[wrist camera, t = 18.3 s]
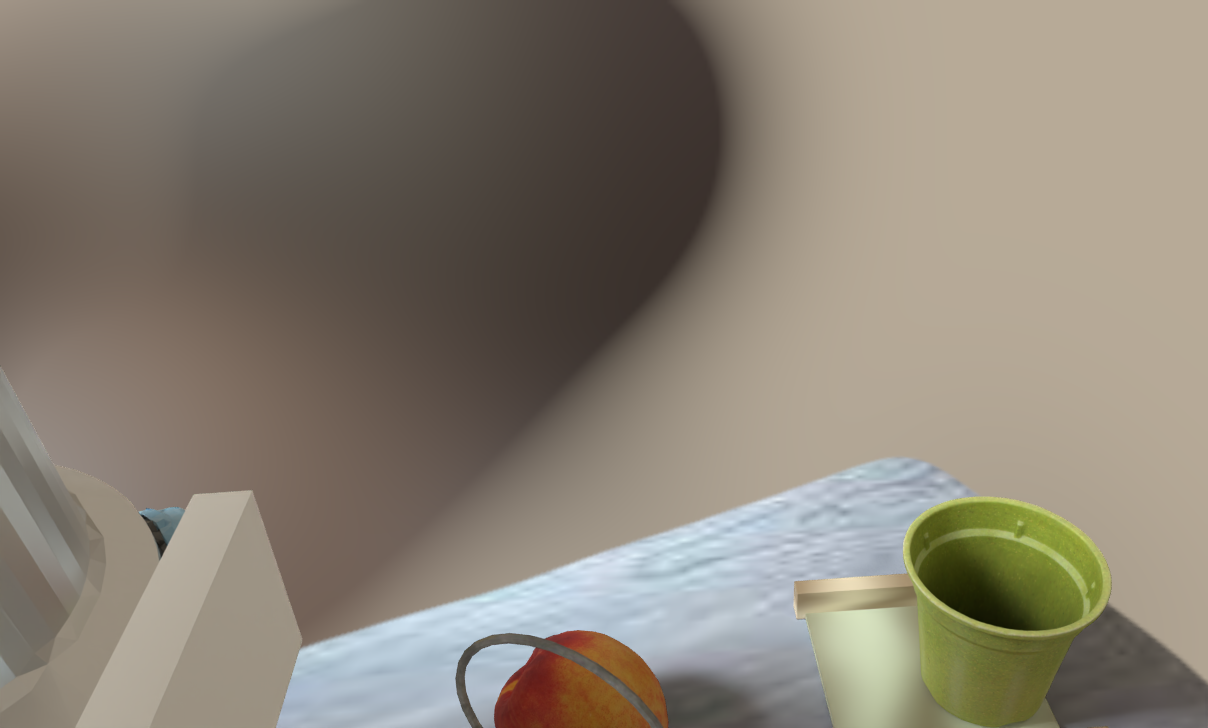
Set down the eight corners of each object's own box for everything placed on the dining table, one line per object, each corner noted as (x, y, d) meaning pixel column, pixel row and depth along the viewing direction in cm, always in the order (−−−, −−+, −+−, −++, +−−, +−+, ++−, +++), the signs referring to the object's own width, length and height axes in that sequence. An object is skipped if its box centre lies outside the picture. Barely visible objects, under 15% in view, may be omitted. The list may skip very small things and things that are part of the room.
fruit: (584, 673, 56) (570, 567, 52) (701, 750, 51) (696, 640, 47) (479, 770, 51) (455, 662, 47) (598, 865, 47) (583, 755, 42)
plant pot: (1094, 651, 54) (1126, 528, 50) (1060, 789, 47) (1093, 662, 43) (919, 594, 59) (933, 476, 54) (865, 713, 52) (877, 591, 47)
